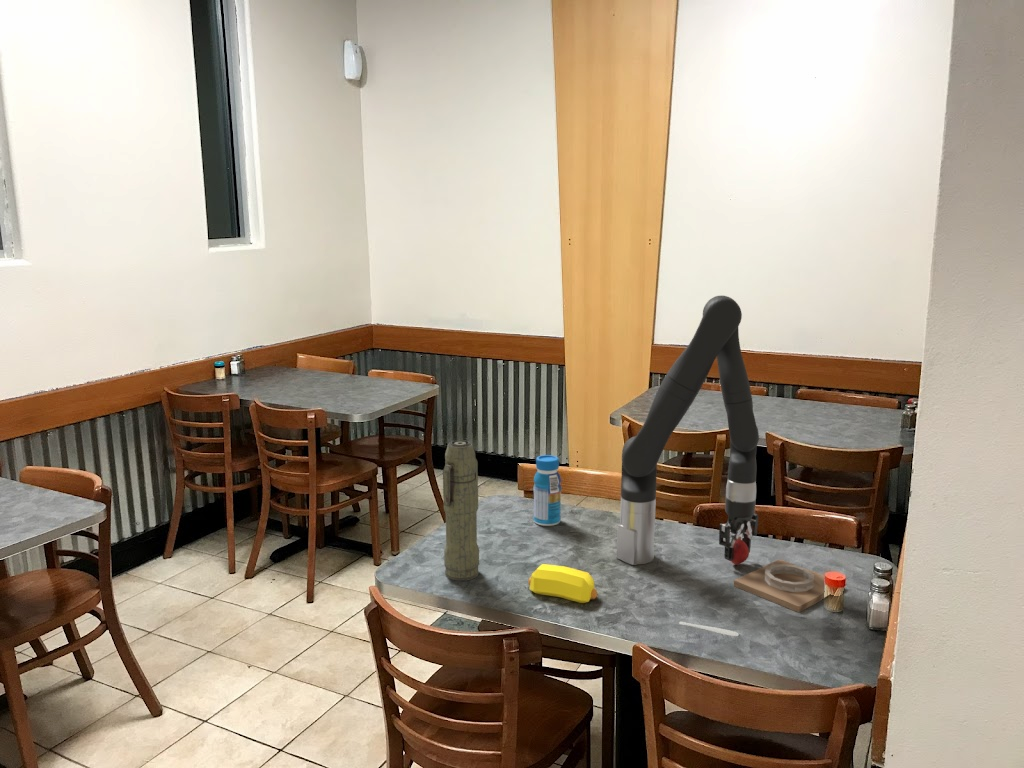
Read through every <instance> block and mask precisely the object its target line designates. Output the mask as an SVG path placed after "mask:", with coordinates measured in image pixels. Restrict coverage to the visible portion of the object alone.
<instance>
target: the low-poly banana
mask: <svg viewBox="0 0 1024 768" xmlns="http://www.w3.org/2000/svg"><path fill="white" fill-rule="evenodd" d="M527 583H528V585H529V590H530V591H531V592H533V593H535V594H537V595H544V596H550V597H558V598H562V599H565V600H569V601H573V602H575V603H576V602H577V603H580V604H585V603H589V602H590V600H596V598H597V596H598V590H597V589H595V579H594V578H593V576H592V575H590V573H589V572H587V571H584V570H579V569H577V568H572V567H569V566H563V565H555V564H554V565H553V564H546V563H542V564H541V565H539V566H538V567H537V568H536V569H535V570H534V571H533V572H532V573H531V575H530V577H529V579H528V581H527Z"/></svg>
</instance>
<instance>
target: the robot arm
mask: <svg viewBox="0 0 1024 768" xmlns="http://www.w3.org/2000/svg"><path fill="white" fill-rule="evenodd" d="M742 318H743V313H742V310H741V307H740V305H739V304H738V303H737V301H736V300H735V299H733V298H731V297H729V296H727V295H716V296H713V297H712V298H710V299H709V300H707V302H706V303H705V305H704V307H703V309H702V318H701V320H700V322H699V324H698V327H697V329H696V331H695V333H694V335H693V337H692V339H691V341H690V342H689V343H688V345H687V347H686V348H685V349H684V350H683V351H682V352H681V354H680V355H679V356H678V357H677V359H676V360H675V361H674V363H673V364H672V365H671V366H670V368H669V370H668V372H667V373H666V374H665V376H664V378H663V380H662V381H661V383H660V385H659V387H658V388H657V391H656V393H655V395H654V398H653V400H652V403H651V406H650V409H649V411H648V414H647V416H646V418H645V421H644V422H643V424H642V426H641V428H640V430H639V431H638V432H637V434H636V435H634V436H632V437H629V439H627V440H626V441H625V443H624V445H623V447H622V450H621V451H622V452H621V475H620V476H621V479H620V516H619V518H620V519H619V524H617V527H616V529H617V530H616V531H617V532H616V559H618V560H620V561H622V562H625V563H627V564H629V565H632V566H635V565H645V564H649V563H651V562H653V561H654V558H655V557H654V556H655V555H654V554H655V553H654V552H655V527H656V526H655V525H656V506H657V505H656V502H657V501H656V499H657V469H658V468H657V467H658V465H657V464H658V463H659V460H660V458H661V456H662V454H663V452H664V449H665V447H666V445H667V442H668V440H669V439H670V437H671V436H672V434H673V433H674V430H675V429H676V428H677V427H678V426H679V424H680V422H681V421H682V419H683V418H684V416H685V415H686V413H687V412H688V411H689V409H690V407H691V405H692V404H693V402H694V401H695V399H696V397H697V396H698V394H699V392H700V390H701V389H702V387H703V384H704V383H705V381H706V379H707V378H708V375H709V374H710V371H711V369H712V366H713V364H714V362H715V360H717V367H718V376H719V383H720V389H721V394H722V395H721V396H722V400H723V405H724V409H725V412H726V416H727V417H726V418H727V424H728V425H727V426H728V432H729V438H730V439H729V459H728V461H729V462H728V467H727V468H728V469H727V482H726V487H725V502H724V503H725V504H724V506H725V507H724V512H725V513H726V514H727V516H728V518H727V521H726V522H725V523H719V530H718V531H719V532H718V534H719V536H718V537H719V538H718V544H719V546H723V547H724V553H723V554H724V559H725V560H727V561H730V562H731V561H732V560H733V553H734V547H733V546H734V544H735V541H736V540H738V538H739V536H742V537H741V540H742V541H744V542H745V543H746V545H747V546H748V549H749V554H750V553H751V544H752V540H753V538H754V537H756V536H757V534H758V526H759V525H758V524H759V514H758V513H756V502H757V501H756V499H757V483H756V482H757V469H758V468H757V459H756V458H757V448H758V444H759V442H760V441H759V440H760V435H759V434H760V433H759V428H758V426H757V422H756V418H755V413H754V404H753V403H754V402H753V396H752V390H751V386H750V385H751V384H750V380H749V377H748V373H747V369H746V366H745V363H744V358H743V354H742V351H741V350H742V349H741V344H740V337H739V336H740V333H739V332H740V331H739V326H740V324H741V321H742ZM730 540H731V541H730ZM730 542H731V543H730Z"/></svg>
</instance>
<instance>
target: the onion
mask: <svg viewBox="0 0 1024 768" xmlns="http://www.w3.org/2000/svg"><path fill="white" fill-rule="evenodd" d="M730 543H731V541H730ZM733 547H734V553H733V560H732V561H730V562H731V563H732V564H733V565H735V566H739V565H741V564H743V563H744V562H746V561H747V559H748V558H749V555H750V553H749V549H748V546H747V545H746V543H745V542H744V541H742V537H741V535H739V538H738V540H736V541H735V544H734V546H733Z"/></svg>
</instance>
